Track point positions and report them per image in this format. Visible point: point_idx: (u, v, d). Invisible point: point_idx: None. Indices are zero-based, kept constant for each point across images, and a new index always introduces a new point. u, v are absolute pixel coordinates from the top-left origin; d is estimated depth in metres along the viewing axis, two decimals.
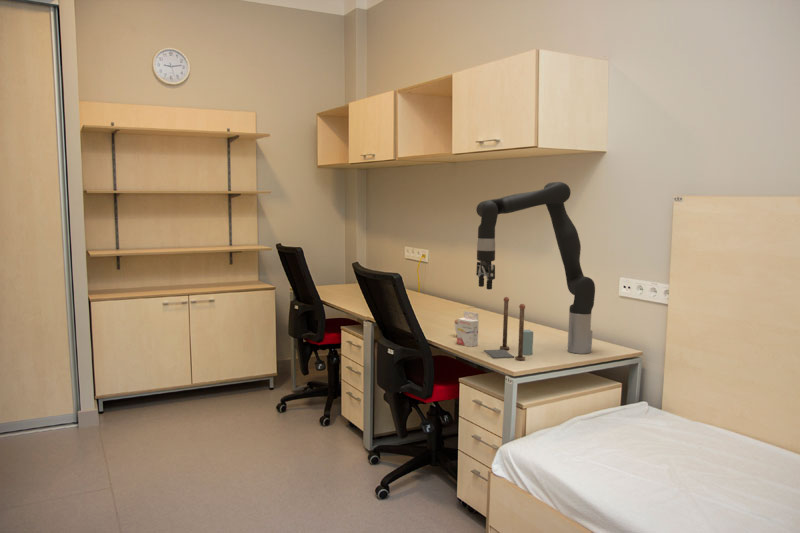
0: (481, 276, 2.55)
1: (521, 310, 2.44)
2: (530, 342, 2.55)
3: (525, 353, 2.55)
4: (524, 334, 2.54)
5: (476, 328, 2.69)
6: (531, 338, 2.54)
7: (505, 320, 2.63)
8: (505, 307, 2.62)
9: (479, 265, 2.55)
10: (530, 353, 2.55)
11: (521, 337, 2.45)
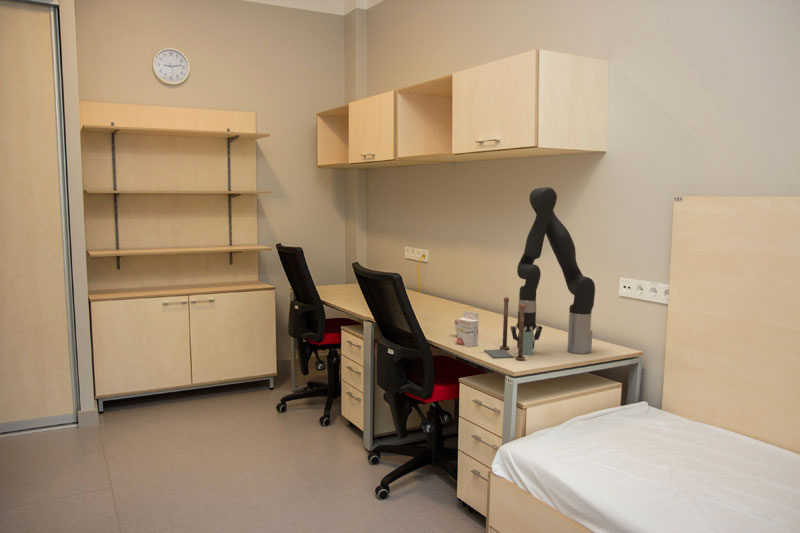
0: None
1: (521, 310, 2.44)
2: (530, 342, 2.55)
3: (525, 353, 2.55)
4: (524, 334, 2.54)
5: (476, 328, 2.69)
6: (531, 338, 2.54)
7: (505, 320, 2.63)
8: (505, 307, 2.62)
9: (516, 329, 2.54)
10: (530, 353, 2.55)
11: (521, 337, 2.45)
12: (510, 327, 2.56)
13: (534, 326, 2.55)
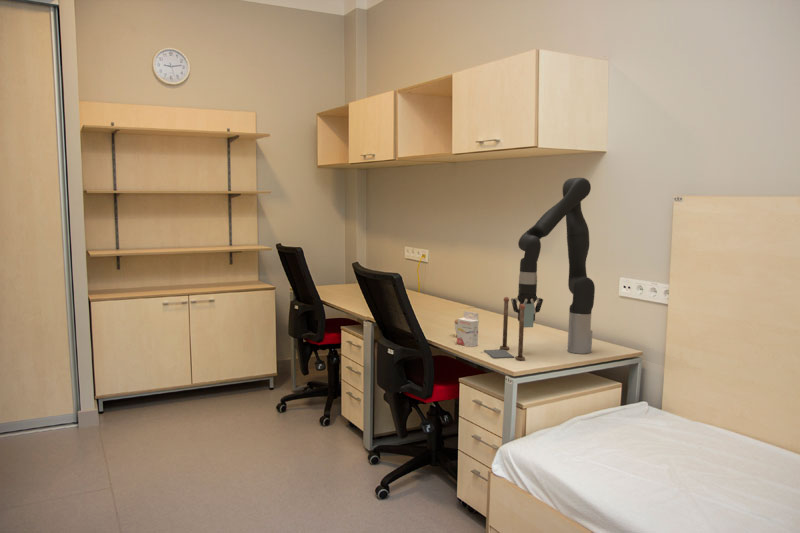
0: None
1: (521, 310, 2.44)
2: (531, 314, 2.53)
3: (526, 325, 2.53)
4: None
5: (476, 328, 2.69)
6: (532, 310, 2.53)
7: (505, 320, 2.63)
8: (505, 307, 2.62)
9: (516, 301, 2.53)
10: (531, 325, 2.54)
11: (521, 337, 2.45)
12: (511, 299, 2.54)
13: (535, 298, 2.54)
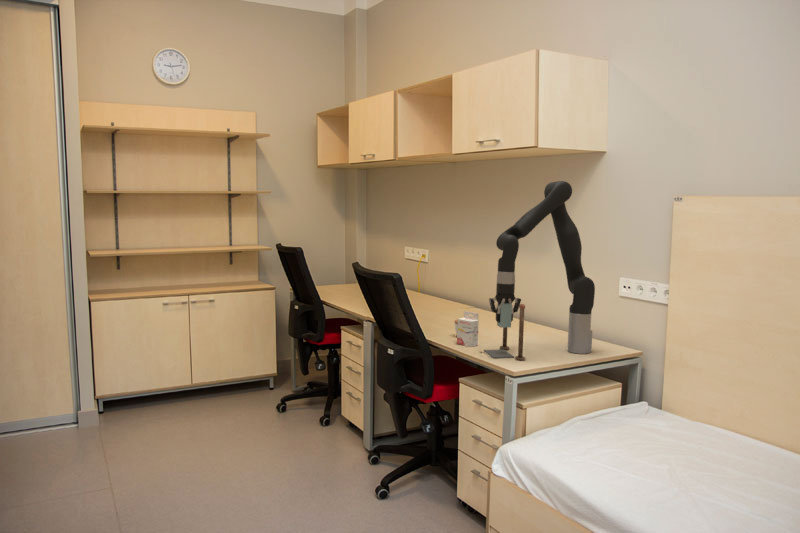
0: None
1: (521, 310, 2.44)
2: (509, 314, 2.51)
3: (503, 325, 2.52)
4: (502, 306, 2.50)
5: (476, 328, 2.69)
6: (510, 310, 2.51)
7: None
8: None
9: None
10: (509, 325, 2.52)
11: (521, 337, 2.45)
12: None
13: (513, 298, 2.52)
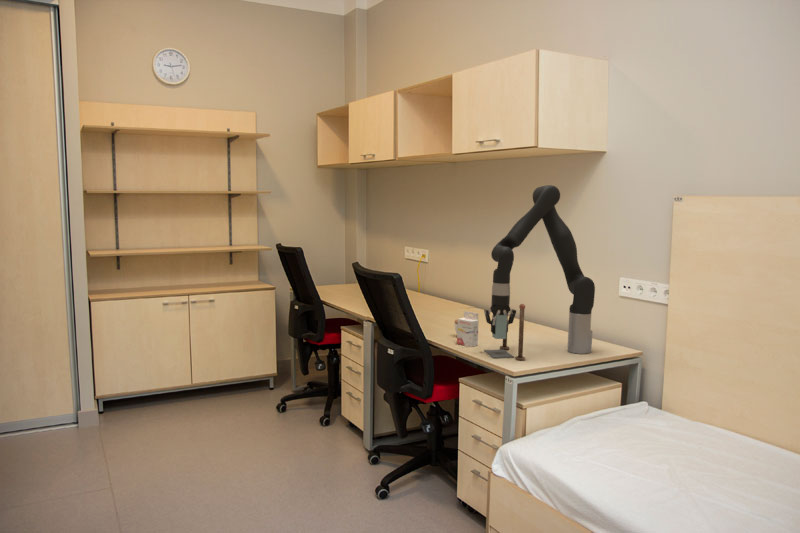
0: None
1: (521, 310, 2.44)
2: (504, 326, 2.52)
3: (499, 337, 2.52)
4: (497, 317, 2.51)
5: (476, 328, 2.69)
6: (505, 321, 2.51)
7: None
8: None
9: (489, 312, 2.51)
10: (504, 337, 2.52)
11: (521, 337, 2.45)
12: (484, 310, 2.53)
13: (508, 309, 2.52)
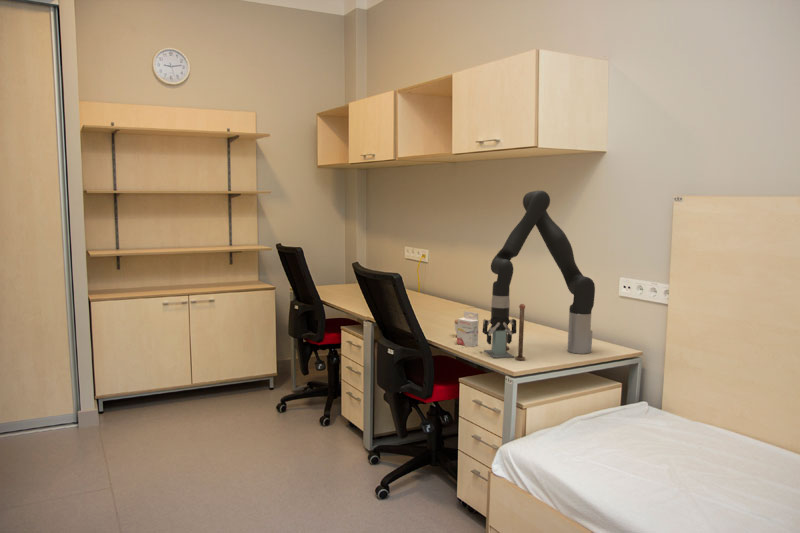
0: None
1: (521, 310, 2.44)
2: (503, 341, 2.52)
3: (498, 352, 2.52)
4: (496, 333, 2.51)
5: (476, 328, 2.69)
6: (504, 337, 2.52)
7: None
8: None
9: (488, 323, 2.52)
10: (503, 352, 2.53)
11: (521, 337, 2.45)
12: (483, 320, 2.53)
13: (508, 322, 2.53)
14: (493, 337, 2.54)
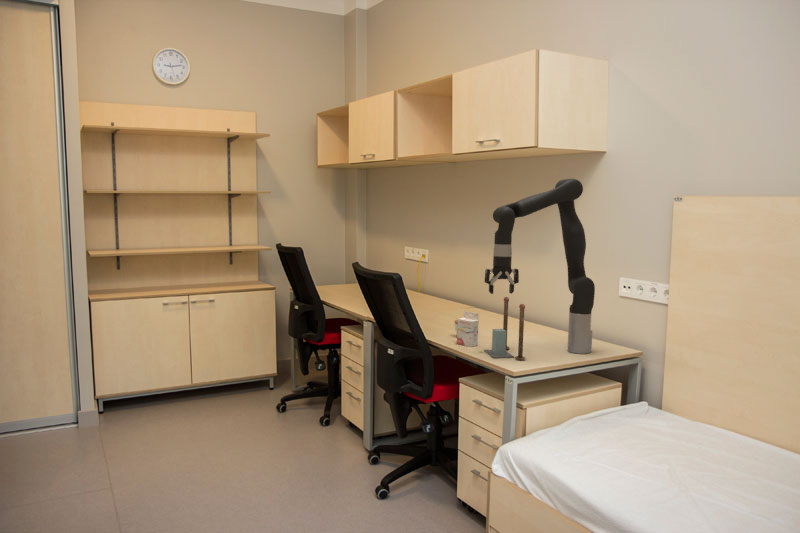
0: None
1: (521, 310, 2.44)
2: (503, 341, 2.52)
3: (498, 352, 2.52)
4: (496, 333, 2.51)
5: (476, 328, 2.69)
6: (504, 337, 2.52)
7: (505, 320, 2.63)
8: (505, 307, 2.62)
9: (490, 272, 2.50)
10: (503, 352, 2.53)
11: (521, 337, 2.45)
12: None
13: (510, 271, 2.51)
14: (493, 337, 2.54)
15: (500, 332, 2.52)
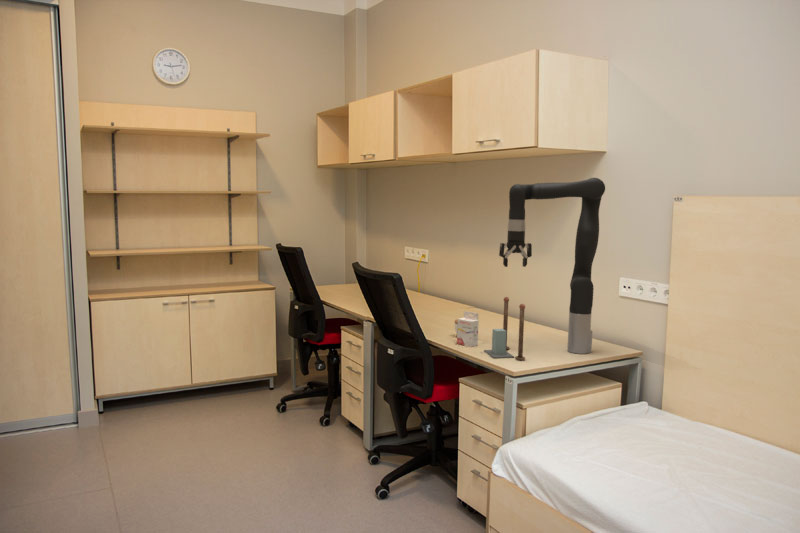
0: None
1: (521, 310, 2.44)
2: (503, 341, 2.52)
3: (498, 352, 2.52)
4: (496, 333, 2.51)
5: (476, 328, 2.69)
6: (504, 337, 2.52)
7: (505, 320, 2.63)
8: (505, 307, 2.62)
9: (504, 246, 2.63)
10: (503, 352, 2.53)
11: (521, 337, 2.45)
12: (500, 243, 2.65)
13: (523, 245, 2.64)
14: (493, 337, 2.54)
15: (500, 332, 2.52)
